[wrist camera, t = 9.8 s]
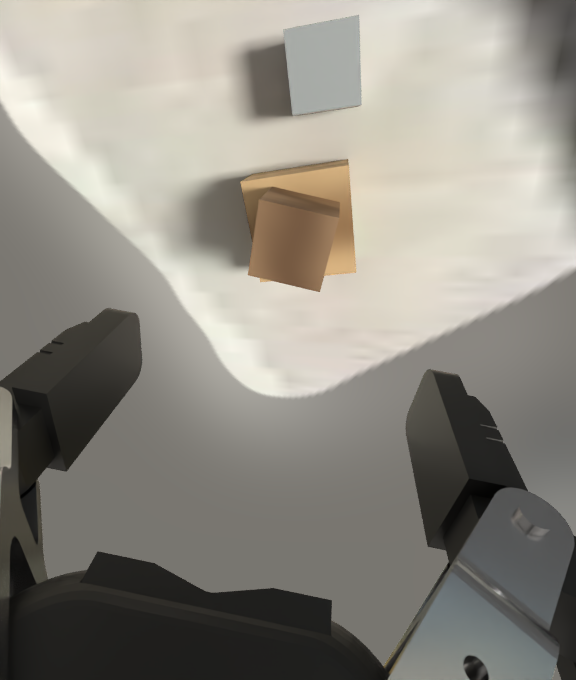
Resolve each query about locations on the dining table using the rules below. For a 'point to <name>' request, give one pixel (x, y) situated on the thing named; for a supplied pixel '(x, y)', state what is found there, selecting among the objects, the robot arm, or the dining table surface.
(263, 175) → the teak block
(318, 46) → the slate-grey cube
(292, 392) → the dining table surface
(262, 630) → the robot arm
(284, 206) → the walnut cube
